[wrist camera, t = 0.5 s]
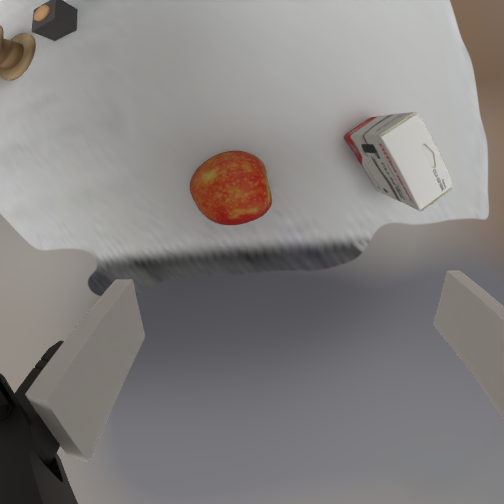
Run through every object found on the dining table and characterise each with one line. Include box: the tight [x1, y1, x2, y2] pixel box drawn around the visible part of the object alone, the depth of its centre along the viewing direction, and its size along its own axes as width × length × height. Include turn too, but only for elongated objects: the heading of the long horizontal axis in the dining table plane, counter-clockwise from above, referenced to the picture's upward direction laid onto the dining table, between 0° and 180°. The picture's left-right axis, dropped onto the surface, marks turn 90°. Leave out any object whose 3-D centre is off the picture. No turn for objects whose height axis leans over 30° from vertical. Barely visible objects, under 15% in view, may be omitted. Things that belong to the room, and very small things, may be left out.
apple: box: [190, 151, 272, 225], centre depth 32 cm, size 8×8×8 cm
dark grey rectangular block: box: [32, 0, 77, 41], centre depth 24 cm, size 4×4×7 cm
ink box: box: [344, 112, 452, 211], centre depth 29 cm, size 8×5×12 cm, turn 37°
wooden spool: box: [0, 25, 35, 80], centre depth 24 cm, size 8×8×9 cm
